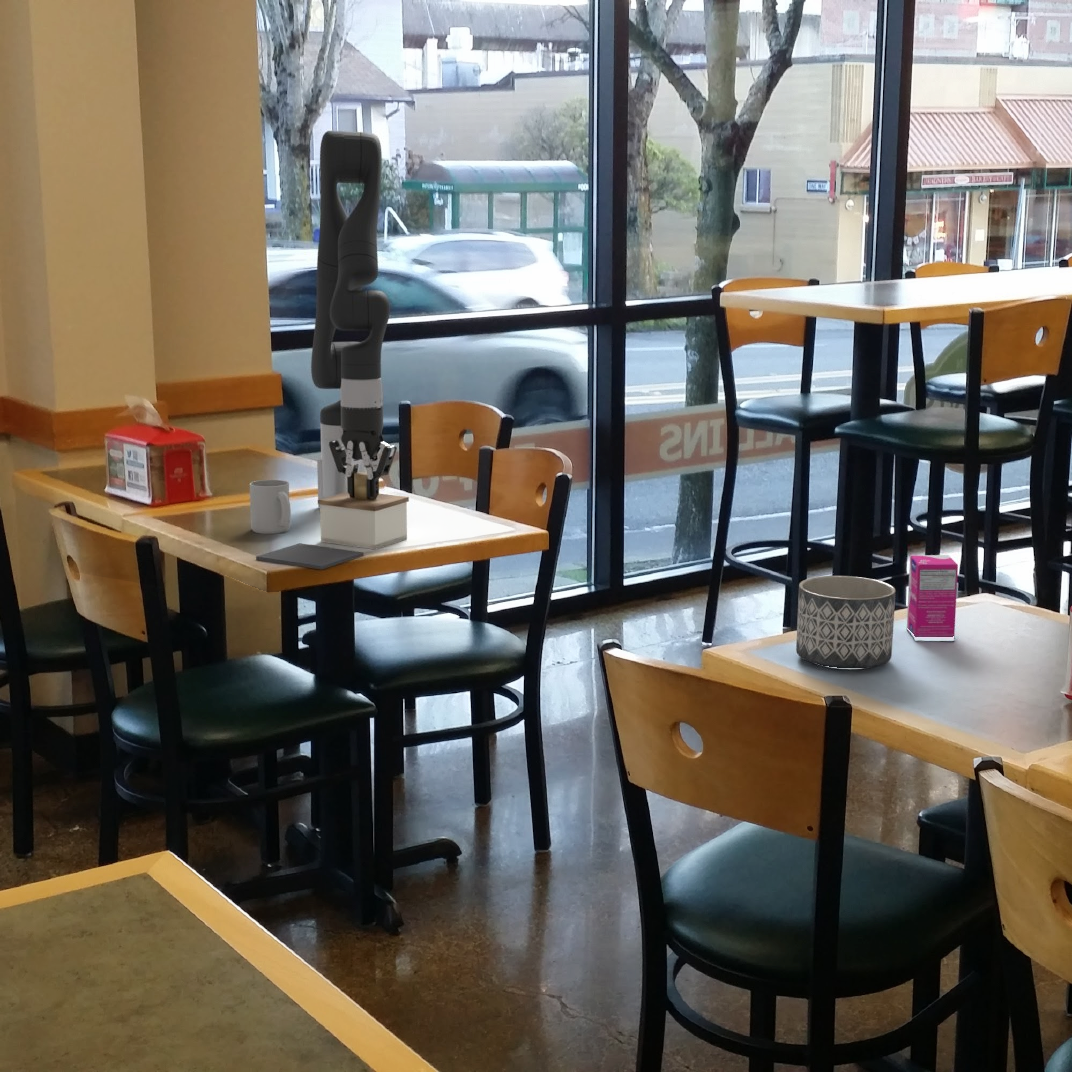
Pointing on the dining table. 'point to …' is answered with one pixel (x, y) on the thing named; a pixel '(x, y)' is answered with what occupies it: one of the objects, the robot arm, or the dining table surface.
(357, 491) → the lid
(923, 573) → the supplement box
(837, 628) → the planter
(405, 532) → the tea box
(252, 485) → the cup
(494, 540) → the dining table surface
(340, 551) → the mat
